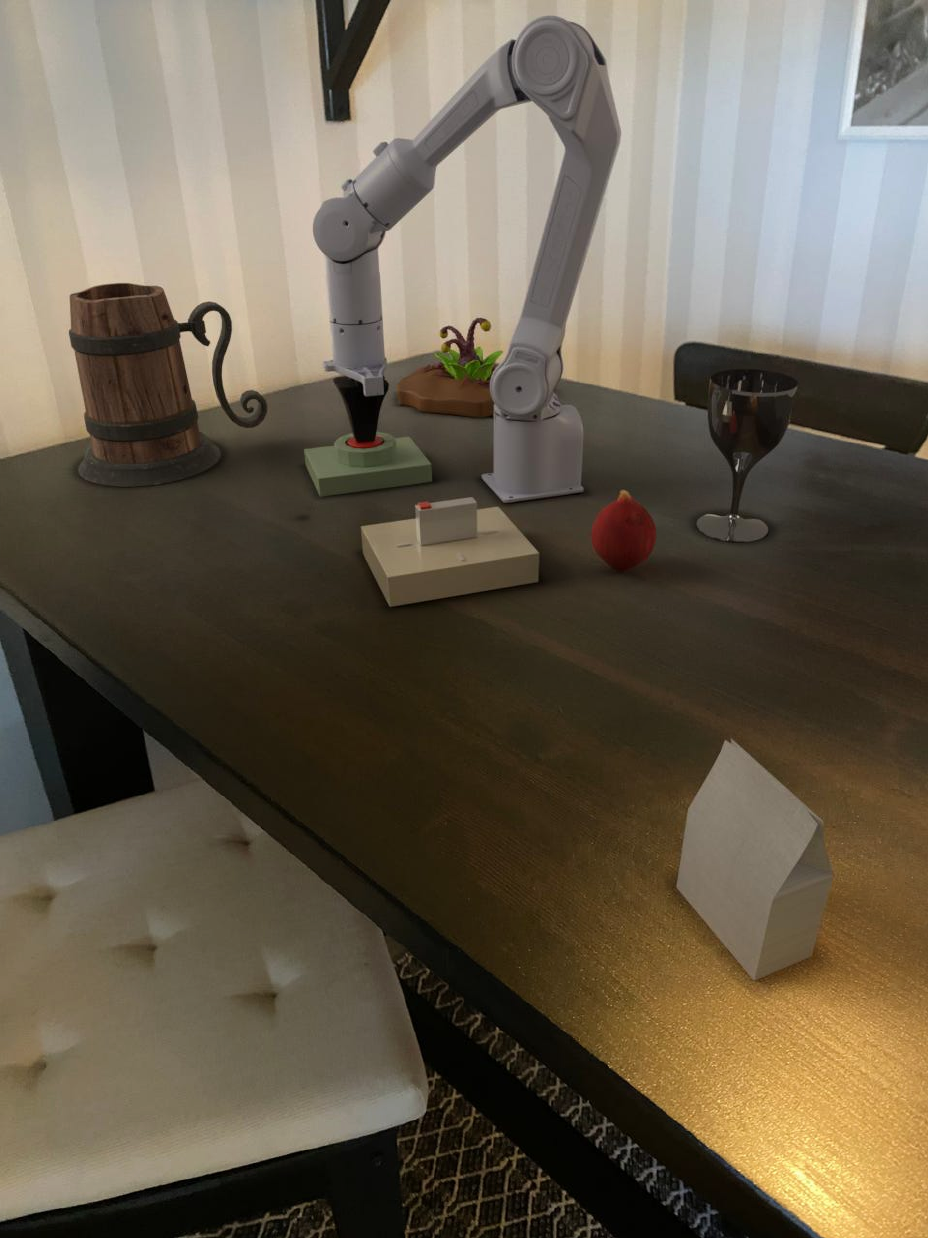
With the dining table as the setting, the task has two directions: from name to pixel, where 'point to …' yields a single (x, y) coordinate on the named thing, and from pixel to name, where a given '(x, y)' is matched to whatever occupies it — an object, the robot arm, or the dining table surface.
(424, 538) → the switch box
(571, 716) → the dining table surface
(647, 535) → the onion
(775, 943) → the tea bag
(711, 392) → the wine glass
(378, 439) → the button
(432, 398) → the plant
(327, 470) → the button block
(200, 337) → the tankard
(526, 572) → the plate
